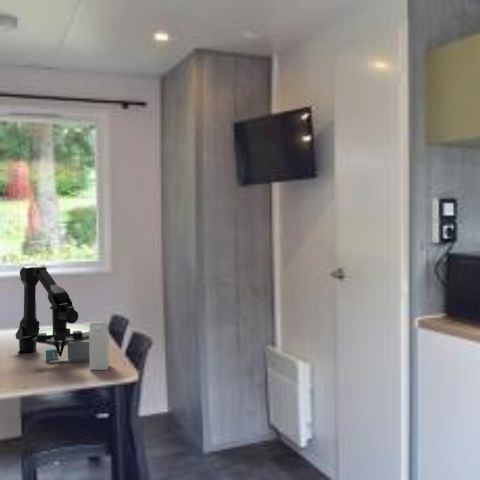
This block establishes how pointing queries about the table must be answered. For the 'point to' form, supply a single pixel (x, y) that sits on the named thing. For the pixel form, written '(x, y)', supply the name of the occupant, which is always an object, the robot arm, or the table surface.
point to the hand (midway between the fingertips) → (60, 356)
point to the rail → (67, 360)
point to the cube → (51, 353)
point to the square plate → (72, 328)
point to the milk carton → (99, 346)
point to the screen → (78, 350)
